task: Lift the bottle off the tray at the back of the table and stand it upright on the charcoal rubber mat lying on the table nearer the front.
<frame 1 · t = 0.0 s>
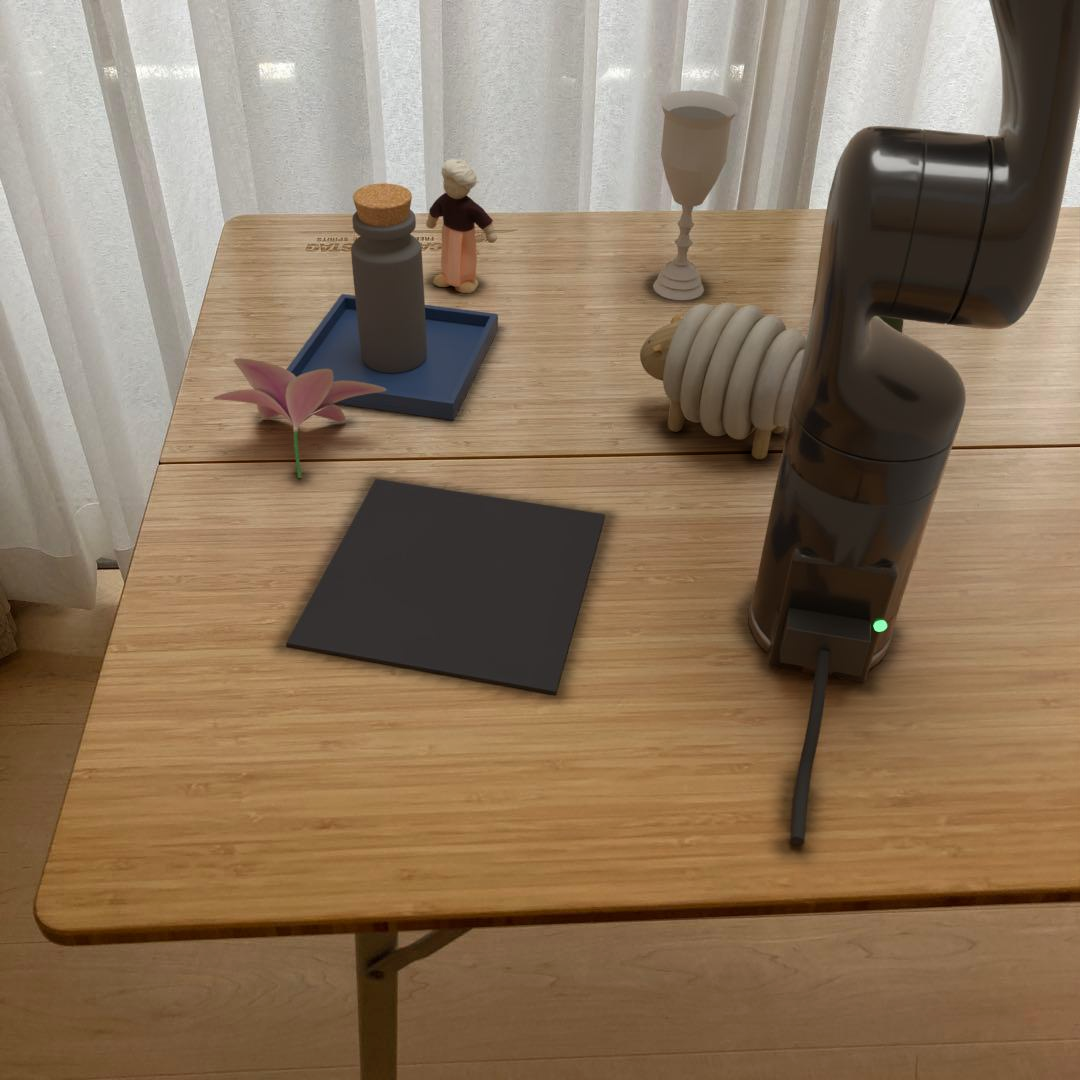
chalice: (678, 289, 111), on the table
grandmother figurine: (461, 287, 110), on the table
bottle: (394, 358, 99), resting on tray
character mug: (862, 348, 103), on the table
lily: (305, 448, 89), on the table
toy sheep: (727, 436, 92), on the table
tray: (394, 361, 99), on the table
mat: (456, 577, 78), on the table
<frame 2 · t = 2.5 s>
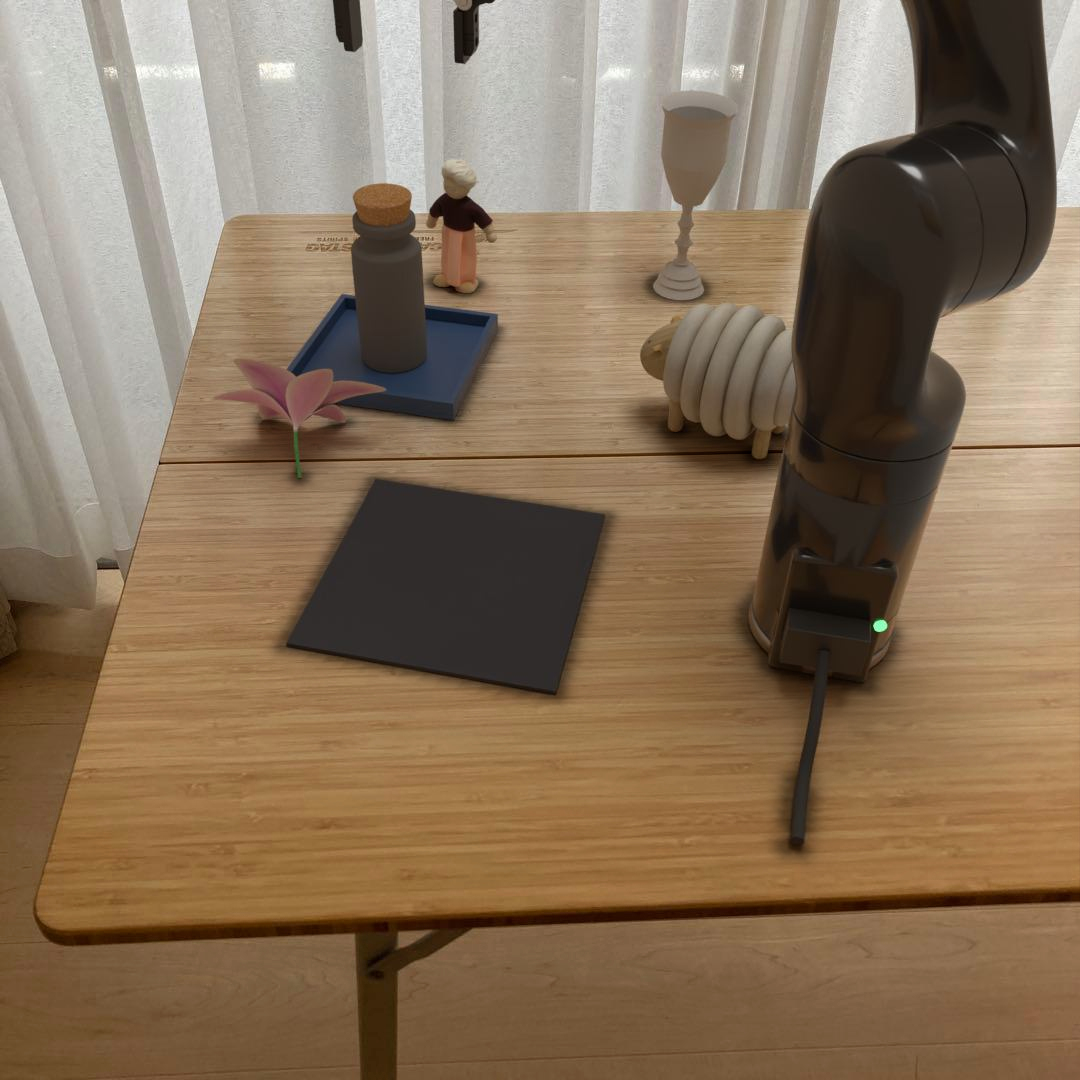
hand: (408, 54, 83), 26 cm above the table, tool pointing down, fingers open, 8 cm apart
nothing on the table moved.
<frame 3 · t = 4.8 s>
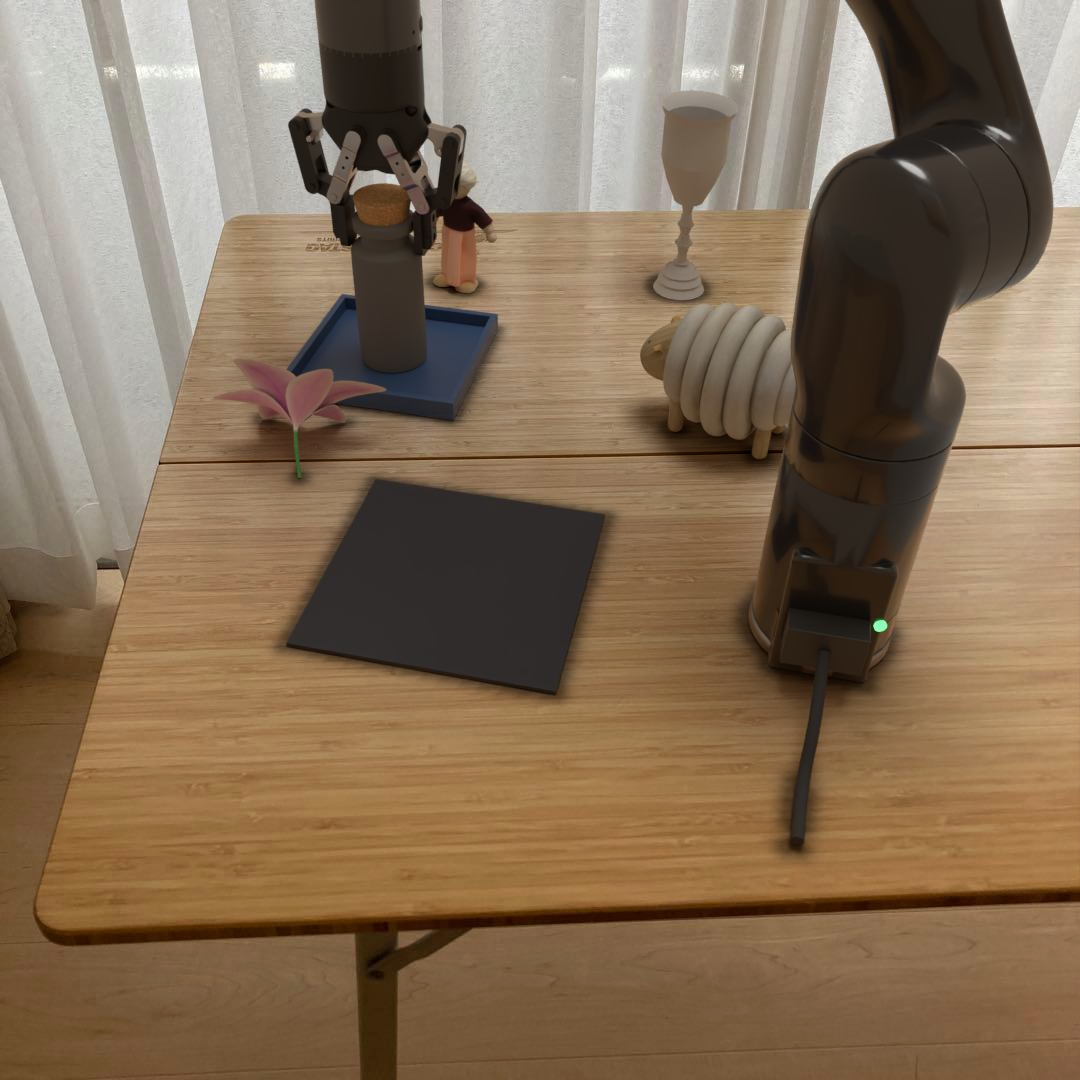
hand: (386, 246, 92), 11 cm above the table, tool pointing down, fingers closed on bottle, 5 cm apart
bottle: (394, 358, 99), resting on tray, touching gripper
everything else where it was.
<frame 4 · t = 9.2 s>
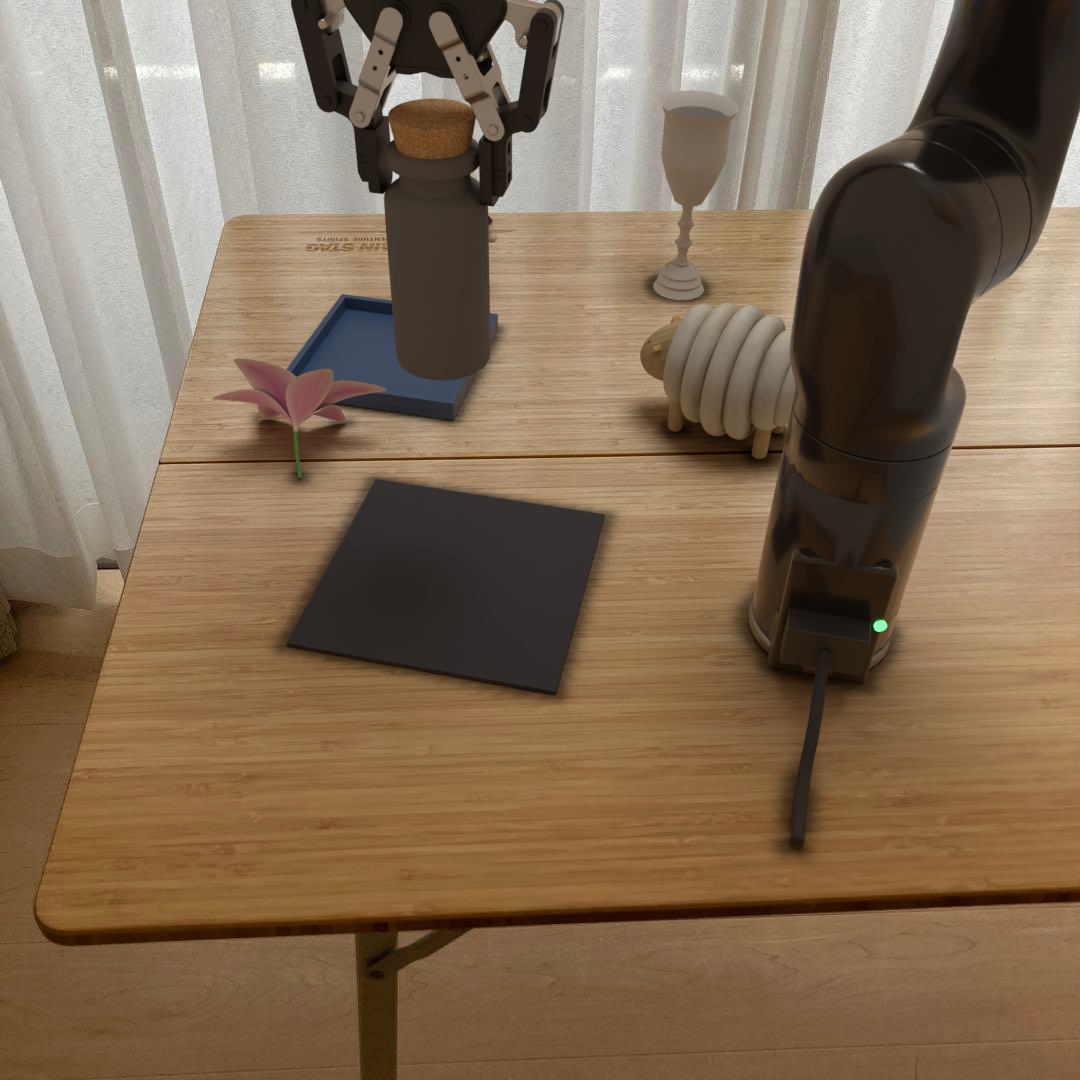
hand: (436, 193, 62), 27 cm above the table, tool pointing down, fingers closed on bottle, 5 cm apart
bottle: (443, 359, 69), point 16 cm above the table, touching gripper
everything else where it was.
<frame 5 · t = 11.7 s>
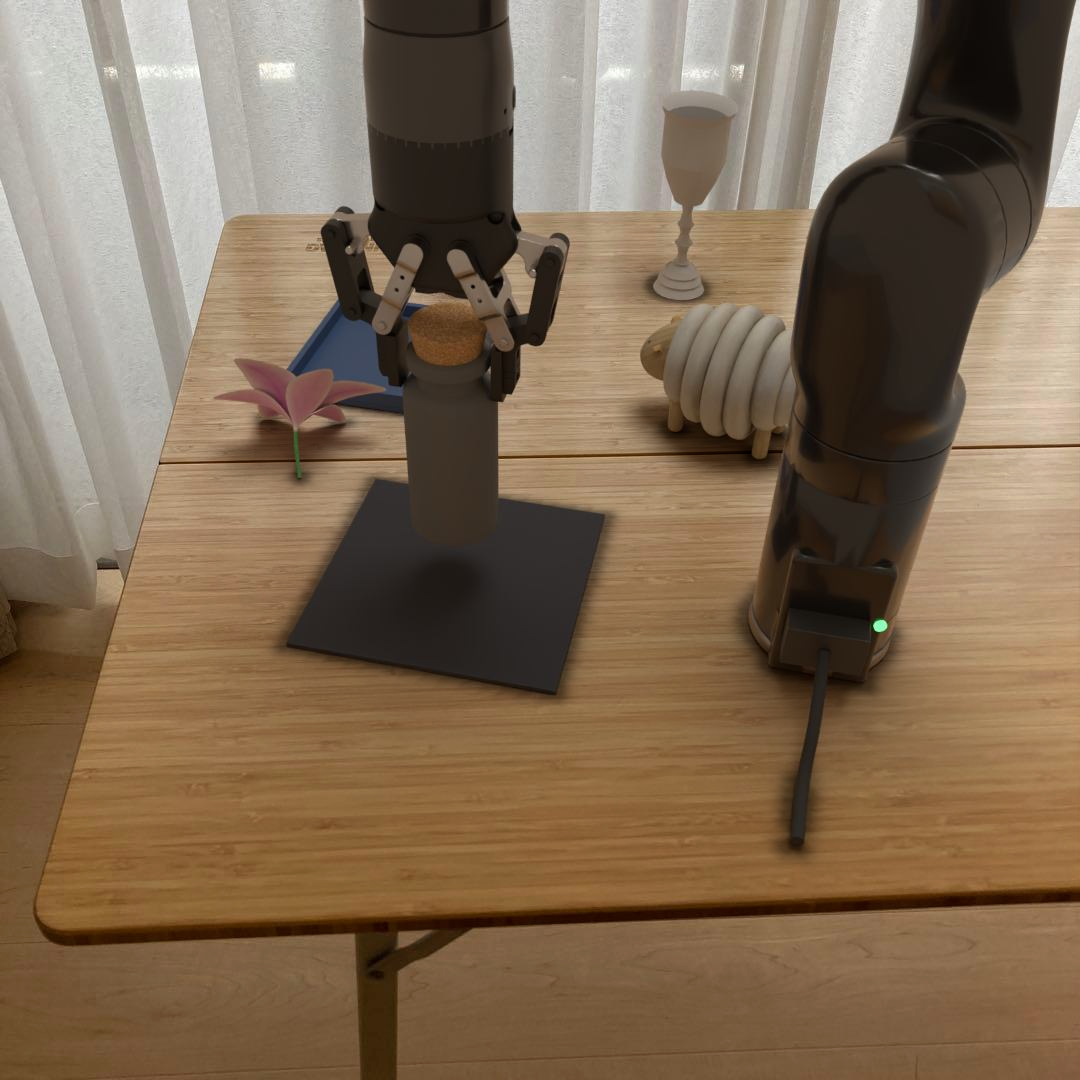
hand: (450, 386, 68), 16 cm above the table, tool pointing down, fingers closed on bottle, 5 cm apart
bottle: (455, 521, 75), point 5 cm above the table, touching gripper
everything else where it was.
when the fingers open (11 cm above the table, at t = 13.5 s): bottle stays where it is, resting on mat.
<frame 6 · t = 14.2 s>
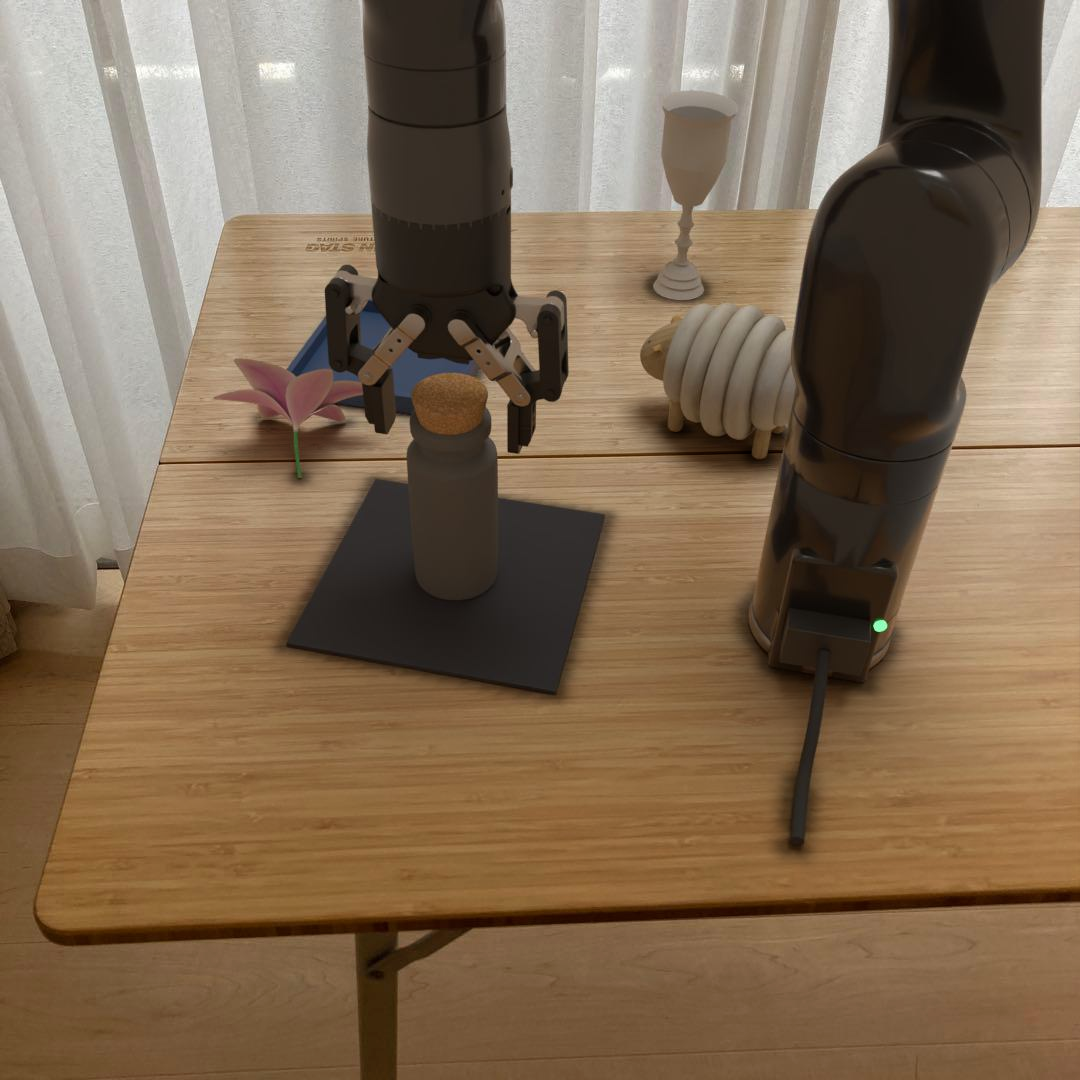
hand: (451, 436, 70), 12 cm above the table, tool pointing down, fingers open, 8 cm apart
bottle: (456, 574, 78), resting on mat
everything else where it was.
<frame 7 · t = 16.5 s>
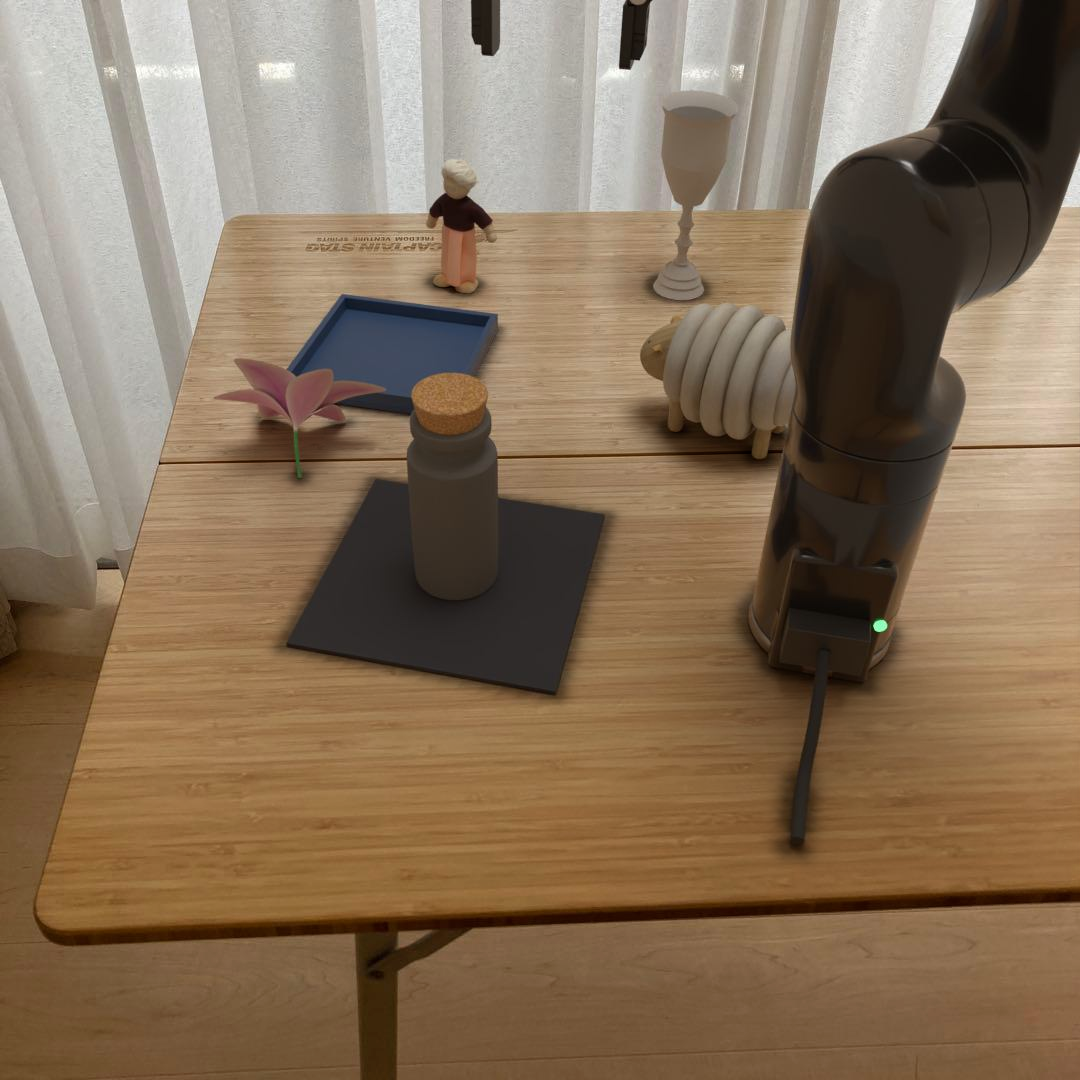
hand: (558, 59, 68), 31 cm above the table, tool pointing down, fingers open, 8 cm apart
nothing on the table moved.
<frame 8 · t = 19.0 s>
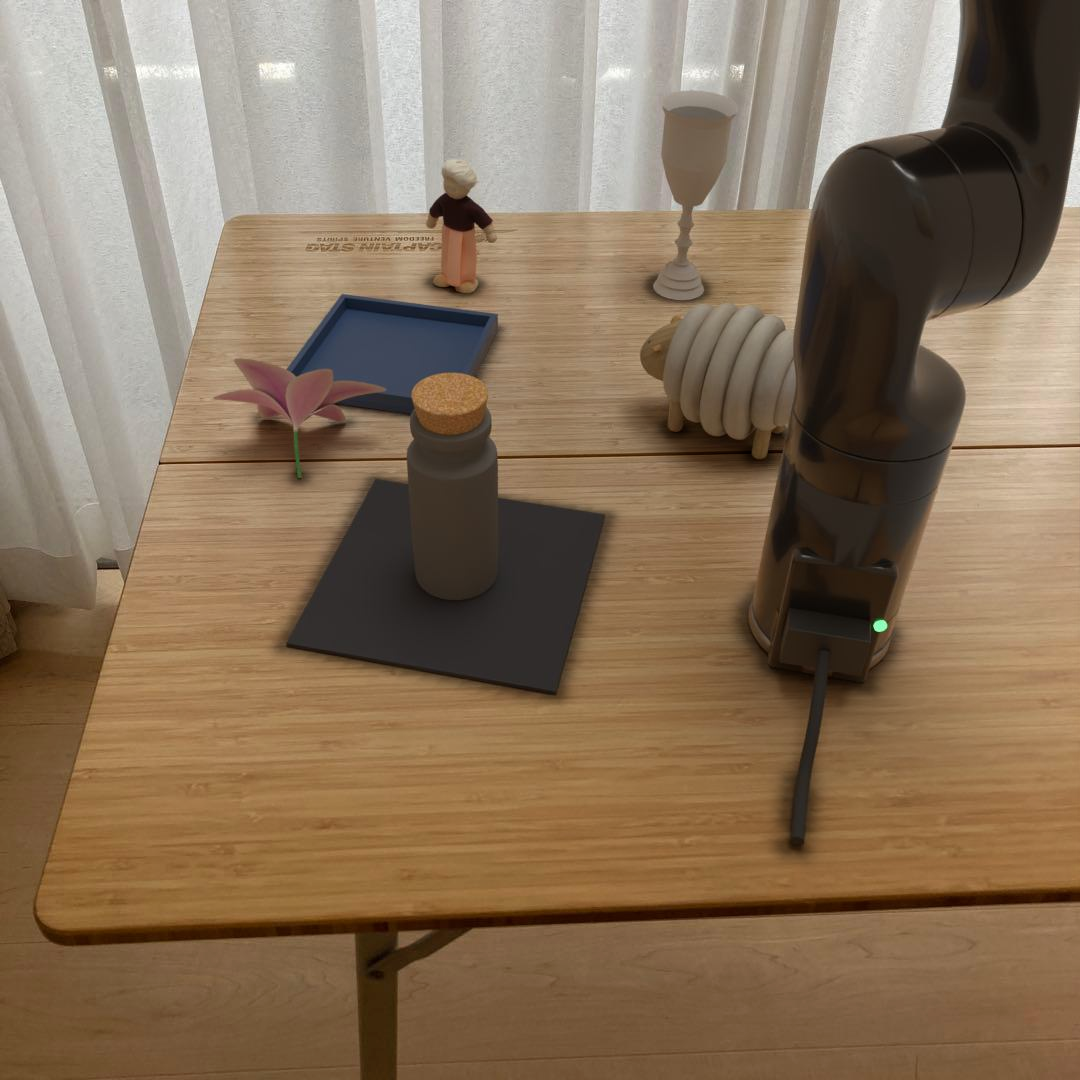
nothing on the table moved.
at the end: bottle inside the target area on the mat (0.1 cm from its centre), point 0.1 cm above the mat's base; bottle tilted 0°; bottle touching mat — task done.
